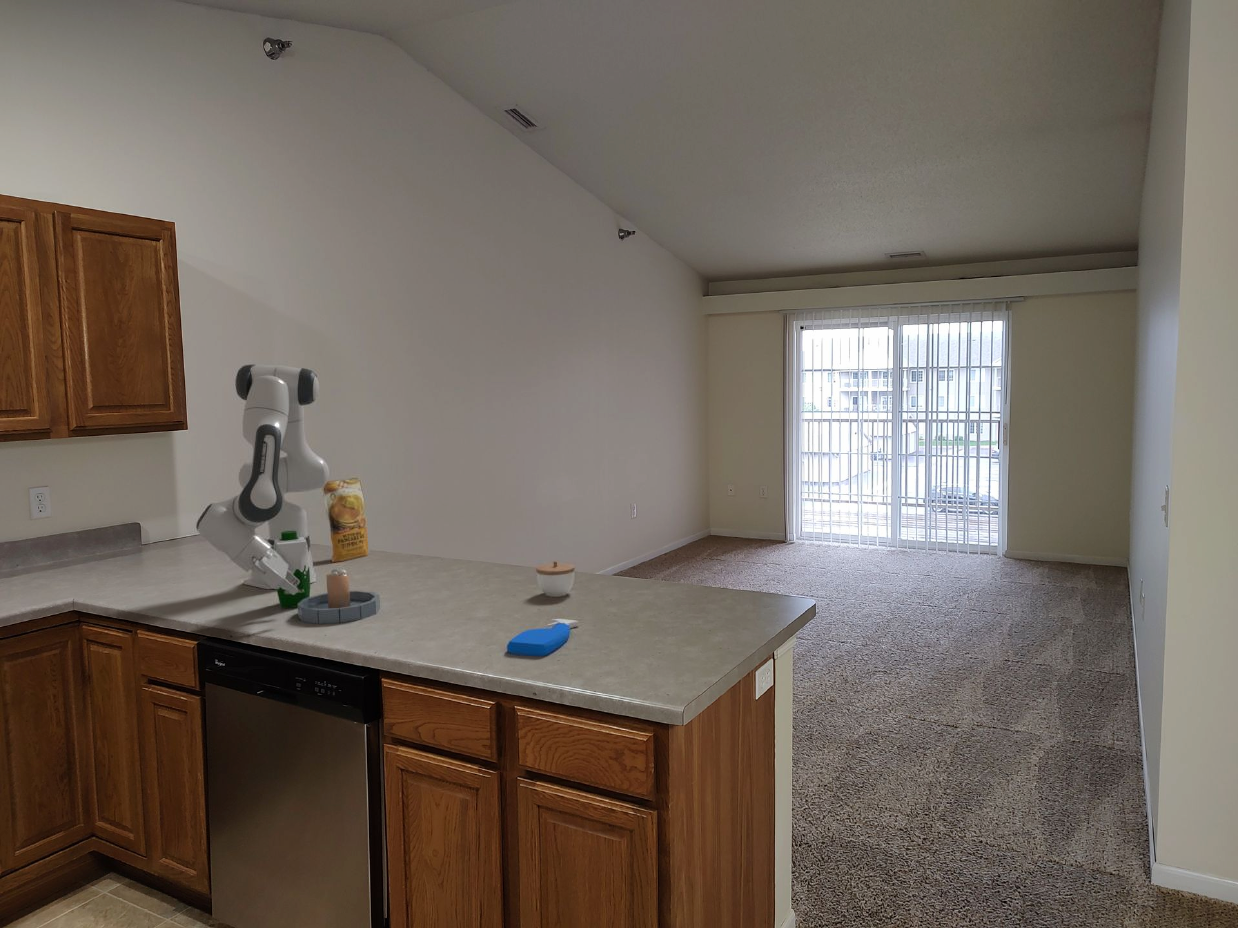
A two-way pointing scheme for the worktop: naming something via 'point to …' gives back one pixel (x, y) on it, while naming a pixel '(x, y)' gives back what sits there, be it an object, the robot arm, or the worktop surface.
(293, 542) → the milk carton
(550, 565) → the lidded jar
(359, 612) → the slate bowl
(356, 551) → the pancake mix bag
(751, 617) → the worktop surface
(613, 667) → the worktop surface
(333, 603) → the pebble cup
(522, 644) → the spray bottle
